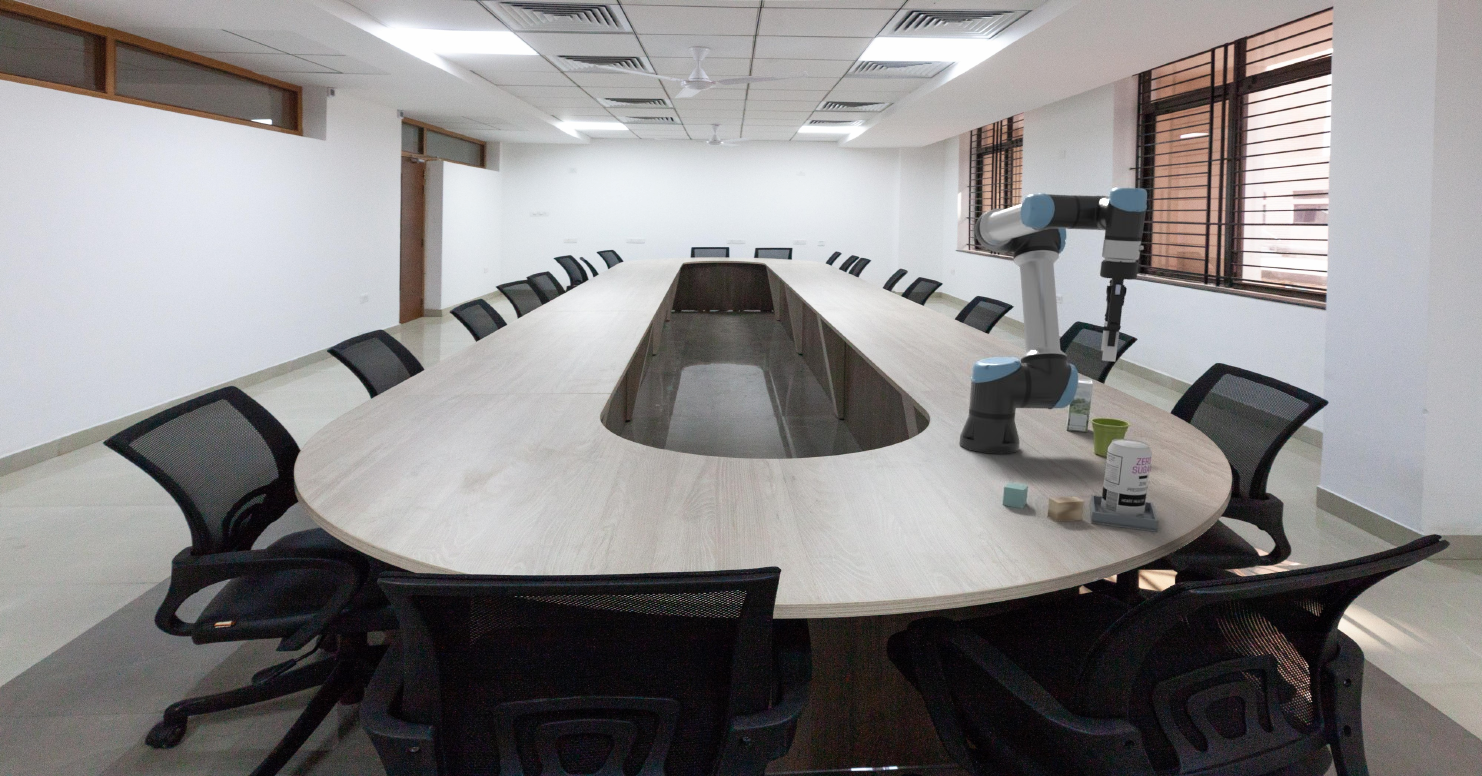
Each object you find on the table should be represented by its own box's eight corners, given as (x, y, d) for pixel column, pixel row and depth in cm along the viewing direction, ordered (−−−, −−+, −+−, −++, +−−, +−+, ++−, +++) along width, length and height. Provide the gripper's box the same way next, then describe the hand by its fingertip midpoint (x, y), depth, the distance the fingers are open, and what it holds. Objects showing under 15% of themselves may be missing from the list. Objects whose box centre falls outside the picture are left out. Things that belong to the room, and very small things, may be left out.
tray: (1091, 522, 180) (1092, 511, 179) (1089, 505, 191) (1090, 494, 190) (1156, 531, 176) (1158, 520, 175) (1151, 513, 187) (1152, 502, 187)
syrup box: (1087, 428, 261) (1092, 379, 258) (1087, 433, 255) (1093, 382, 253) (1066, 426, 263) (1071, 377, 260) (1066, 430, 257) (1071, 380, 254)
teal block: (1002, 505, 189) (1004, 486, 189) (1007, 500, 193) (1009, 482, 192) (1021, 508, 188) (1023, 490, 187) (1026, 503, 191) (1028, 485, 190)
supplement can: (1105, 505, 189) (1114, 436, 186) (1147, 514, 184) (1157, 443, 182) (1095, 515, 183) (1103, 443, 180) (1138, 524, 178) (1148, 450, 175)
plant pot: (1086, 456, 230) (1090, 423, 229) (1087, 448, 239) (1091, 416, 237) (1126, 461, 227) (1130, 427, 225) (1125, 452, 235) (1129, 420, 234)
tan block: (1056, 521, 180) (1058, 502, 179) (1047, 516, 183) (1049, 498, 182) (1082, 520, 182) (1084, 501, 181) (1072, 515, 185) (1075, 496, 184)
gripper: (1142, 265, 184) (1128, 367, 189) (1135, 257, 207) (1123, 348, 212) (1102, 263, 187) (1090, 363, 191) (1100, 255, 210) (1089, 345, 214)
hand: (1107, 355), depth 202 cm, fingers open, 13 cm apart
